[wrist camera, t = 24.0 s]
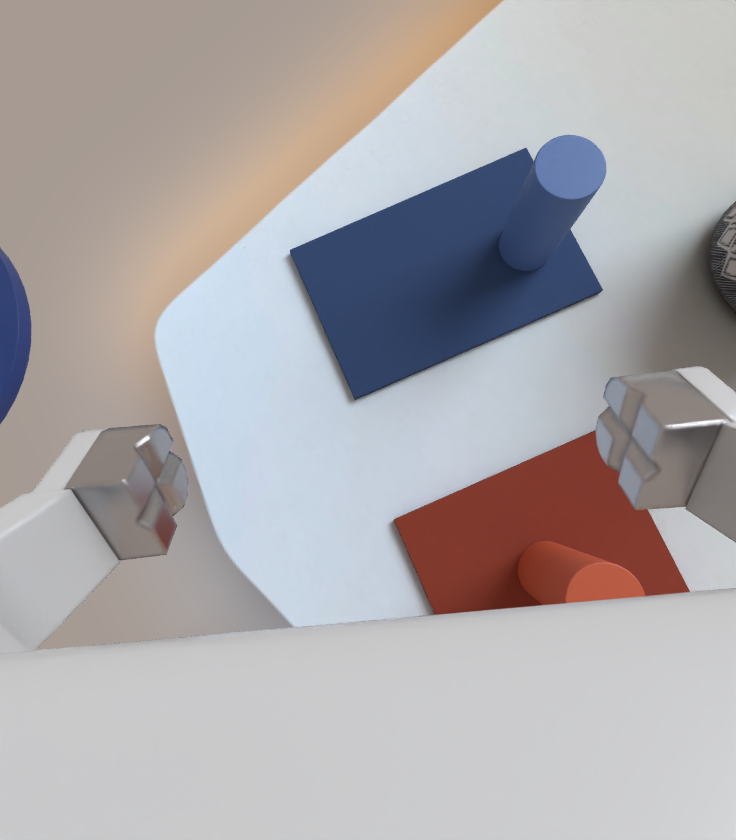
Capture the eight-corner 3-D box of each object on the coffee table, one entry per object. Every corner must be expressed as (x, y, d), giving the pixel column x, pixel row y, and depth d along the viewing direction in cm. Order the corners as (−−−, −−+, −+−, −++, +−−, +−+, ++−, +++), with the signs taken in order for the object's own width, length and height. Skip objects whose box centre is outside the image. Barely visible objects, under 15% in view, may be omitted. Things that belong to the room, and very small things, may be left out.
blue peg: (512, 279, 39) (554, 210, 29) (489, 234, 40) (522, 151, 30) (561, 258, 39) (619, 182, 29) (537, 213, 40) (586, 123, 30)
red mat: (481, 721, 35) (483, 725, 35) (393, 519, 38) (393, 519, 37) (702, 622, 36) (707, 624, 35) (602, 427, 38) (604, 426, 37)
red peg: (533, 610, 36) (588, 659, 26) (507, 554, 36) (551, 581, 26) (586, 586, 36) (662, 626, 26) (560, 531, 36) (623, 549, 26)
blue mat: (355, 399, 39) (354, 398, 38) (290, 252, 41) (289, 249, 40) (600, 292, 39) (603, 289, 39) (524, 151, 41) (526, 147, 41)
